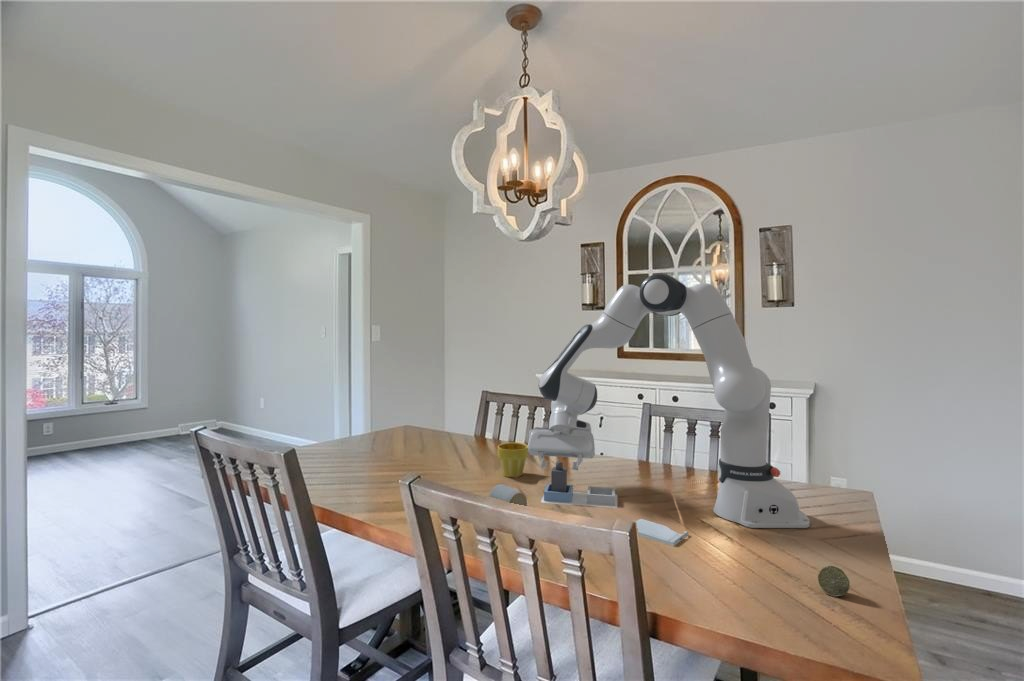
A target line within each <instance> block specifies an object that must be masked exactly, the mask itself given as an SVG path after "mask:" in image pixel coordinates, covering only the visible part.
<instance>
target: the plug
mask: <svg viewBox="0 0 1024 681" xmlns="http://www.w3.org/2000/svg"><path fill="white" fill-rule="evenodd" d="M563 466H564V464H563V461H555V466H554V467H552V469H551V474H550V476H551V478H550V479H551V480H550V481H551V482H550V484H551V491H553V492H567V485H568V484H567V482H568V480H567V479H568V477H567V476H568V474H567V472H568V471H567V470H568V468H567V467H563Z"/></svg>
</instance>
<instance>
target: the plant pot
mask: <svg viewBox="0 0 1024 681" xmlns="http://www.w3.org/2000/svg"><path fill="white" fill-rule="evenodd" d="M527 447H528V444H525V443H522V442H504V443H501V444H499V445H497V457H498V458H499V460H500V461H499V462H500V465H501V470H502V476H504V477H507V478H519V477H521V475H523V474H524V468H525V464H526V460H527V457H529V452H528V448H527Z"/></svg>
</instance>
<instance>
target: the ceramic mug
mask: <svg viewBox="0 0 1024 681" xmlns="http://www.w3.org/2000/svg"><path fill="white" fill-rule="evenodd" d="M489 497H492V498H496V499H500V500H503V501H506V502H509V503H514V504H519V505H524V506H530V505H529V504H528V501H527V497H526V495H525V494H524V493H523V492H521V491H520V490H517V489H514V488H513V487H511V486H508V485H505V484H503V483H499V484H497V485H495V486H494V487H493V488H492V489H491V491H490V492H489V495H488V498H489Z"/></svg>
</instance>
